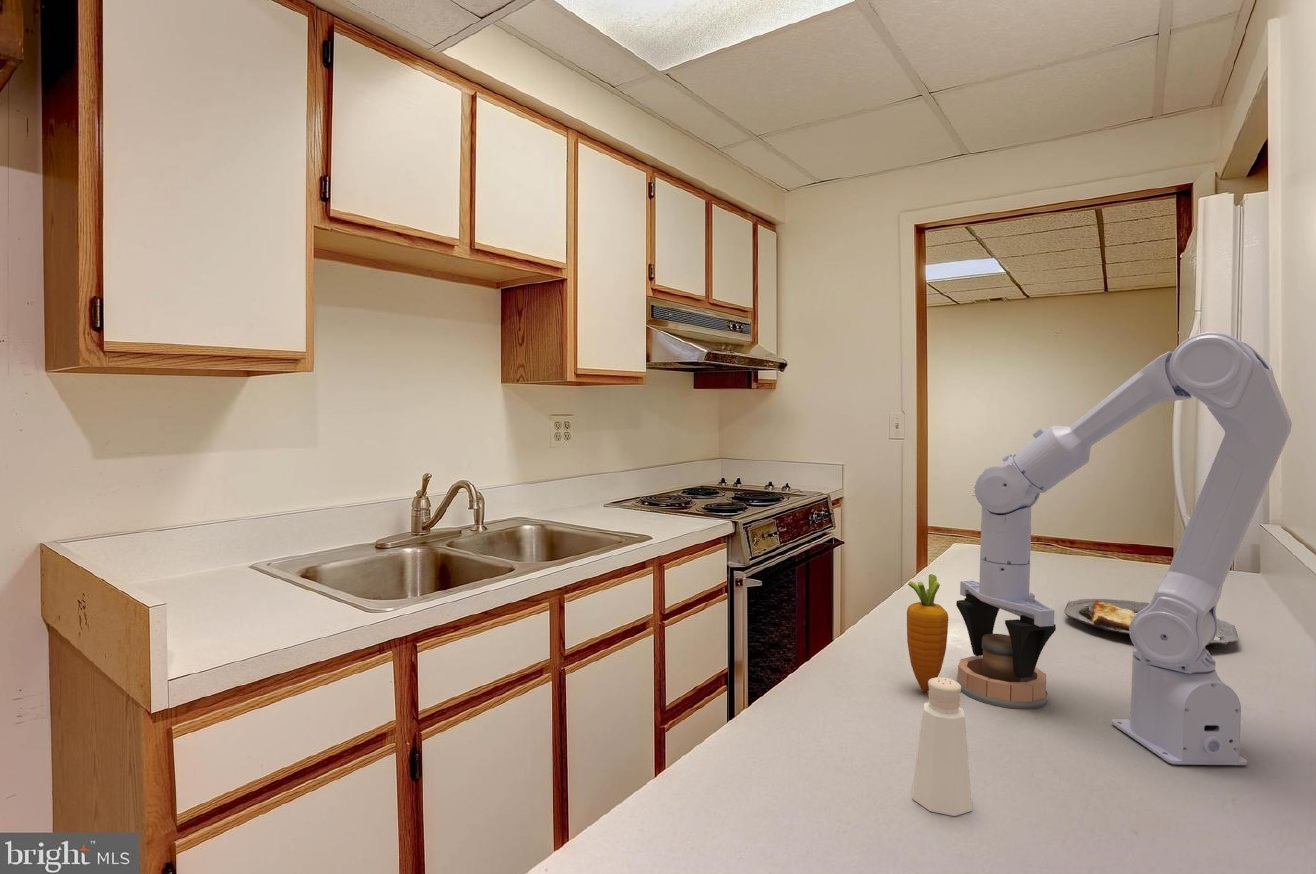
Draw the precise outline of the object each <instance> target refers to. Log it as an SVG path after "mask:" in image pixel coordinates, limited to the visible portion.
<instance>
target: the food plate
mask: <svg viewBox="0 0 1316 874" xmlns="http://www.w3.org/2000/svg"><path fill="white" fill-rule="evenodd" d="M1149 603H1150V602H1145V601H1144V602H1143V601H1141V602H1140V601H1136V600H1126V599H1125V600H1124V599H1111V598H1110V599H1109V598H1083V599H1078V600H1077V599H1075V600H1068V602H1067V603H1066V606H1065V607H1064V611H1063V613H1064V614H1065V615H1066V616H1067V617H1068V618H1069V619H1072V620H1074V621H1077V622H1080V623H1083V624H1085V625H1088V626H1090V627H1094V628H1098V629H1102V630H1104V631H1106V632H1112V633H1115V632H1116V633H1120V634H1126V635H1130V633H1129V627H1130V623H1131V620H1132V618H1133V617H1134V616H1135V613H1138V612H1139V611H1141V610H1142V609H1144V608H1145V607H1147V606H1148V605H1149ZM1217 622H1218V630H1217V634H1216V637H1218V638H1220V639H1219V640H1214V639H1213V640H1212V641H1211V642H1210V643H1209V644H1208V645H1219V647H1221V645H1222V646H1226V645H1228V643H1229V642H1230V643H1231V644H1235V643H1237V642H1238V641H1240V639H1239V636H1238V631H1237V629H1236V626H1235V625H1234V624H1232V623H1229V622H1227V621H1225V620H1221V619H1219V618H1217ZM1208 645H1207V646H1208Z"/></svg>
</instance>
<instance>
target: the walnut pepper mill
mask: <svg viewBox="0 0 1316 874" xmlns="http://www.w3.org/2000/svg"><path fill="white" fill-rule="evenodd" d="M982 649H983V664H982V676H984V677H987V678H990V679H995V680H1001V681H1006V682H1020V679H1021V678H1018V677H1016V676H1015V675H1014V670H1013V652H1012V644H1011V639H1010V636H1009V634H1005V633H1004V634H1003V633H993V634H986V635H984V636H983V637H982Z"/></svg>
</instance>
